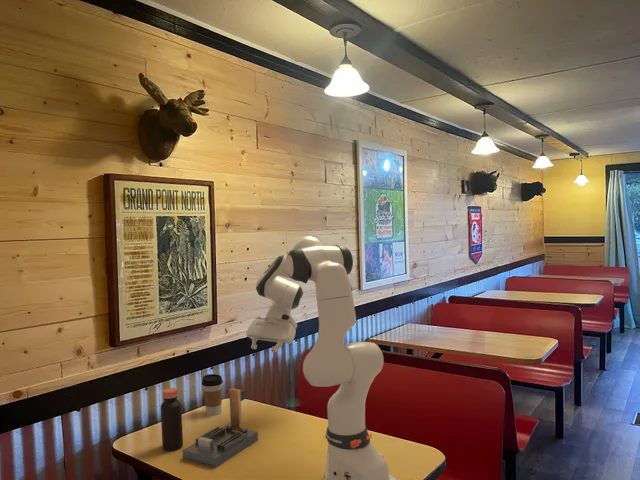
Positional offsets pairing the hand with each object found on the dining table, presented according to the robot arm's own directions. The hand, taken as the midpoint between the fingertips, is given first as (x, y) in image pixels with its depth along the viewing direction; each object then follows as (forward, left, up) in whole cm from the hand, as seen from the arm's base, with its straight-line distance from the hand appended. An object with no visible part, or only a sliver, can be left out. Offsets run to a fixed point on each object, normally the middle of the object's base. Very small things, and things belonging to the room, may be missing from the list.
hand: (263, 350), depth 187 cm
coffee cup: (+23, +10, -28) cm, 38 cm away
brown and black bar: (-5, +15, -25) cm, 29 cm away
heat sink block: (-9, +24, -28) cm, 38 cm away
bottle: (+5, +35, -28) cm, 45 cm away
